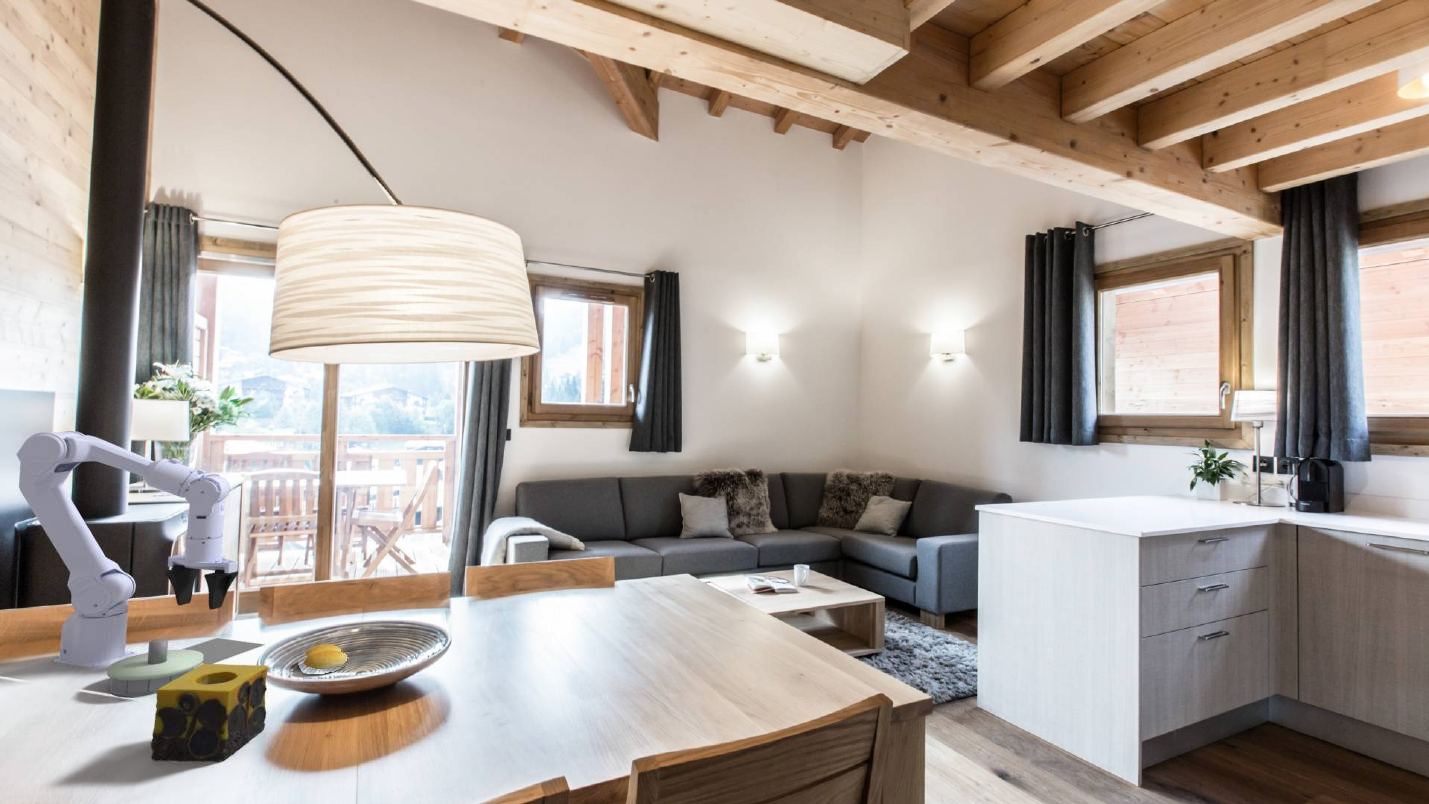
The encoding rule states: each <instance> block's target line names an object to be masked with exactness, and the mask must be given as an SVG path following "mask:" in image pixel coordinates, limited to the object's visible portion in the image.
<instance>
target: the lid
mask: <svg viewBox="0 0 1429 804" xmlns="http://www.w3.org/2000/svg"><path fill="white" fill-rule="evenodd" d="M168 647H169V639H168V638H159V639H157V638H156V639H152V640H150V641H149V642H148V652H143V653H140V654H136V655H133V656H130V657H127V658H123V659H120V660H117V661H114V662H112V664H110V665H109V666H108V667H107V669H106V670H107V671H106V675H107V677H108V678H112V679H116V680H125V681H135V680H148V679H156V678H162V677H167V676H172V675H176V674H179V673H183V672H186V671H189V670H191V669H193V668H194V669H195V668H196V667H198V666H200V665H201V664H203V663H202V662H203V654H202V653H201V652H198V651H194V650H181V649H169V648H168Z"/></svg>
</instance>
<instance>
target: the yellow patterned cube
mask: <svg viewBox="0 0 1429 804" xmlns="http://www.w3.org/2000/svg"><path fill="white" fill-rule="evenodd" d="M268 671H269V666H268V665H266V664H265V665H262V664H261V665H259V664H258V665H257V664H256V665H254V664H253V665H251V664H250V665H249V664H226V663H225V664H224V663H214V664H204V663H201V664H200V665H199V666H197V667H196V668H194V669H193V670H191V671H189V672H188V673H186V674H184V675H183V676H181V677H179V678H177V679H175V680H173V681H172V682H170V683H168V684H166V685H164V686H163V687H161V688H159V689H158V690H157V693H156V704H155V707H156V709H155V710H156V711H155V715H154V725H153V731H152V735H151V736H152V739H151V742H150V747H151V751H152V752H151V756H150V757H151V760H153V761H166V762H167V761H173V762H175V761H176V762H206V761H208V762H224V761H225V760H227V759H229V758H230V757H231V756H233V755H234V754H236V753H237V751H239V750H240V749H241V748H243V747H244V746H245V745H247V744H248V743H249V742H251V741H252V740H253V739H254V738H255V737H257V736H258V735H259V734H260V733H262V732H263V731H264V730H265V729H266V728H265V727H266V722H265V721H266V717H267V709H266V691H267V689H268V688H267V686H266V685H267V676H268Z"/></svg>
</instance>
